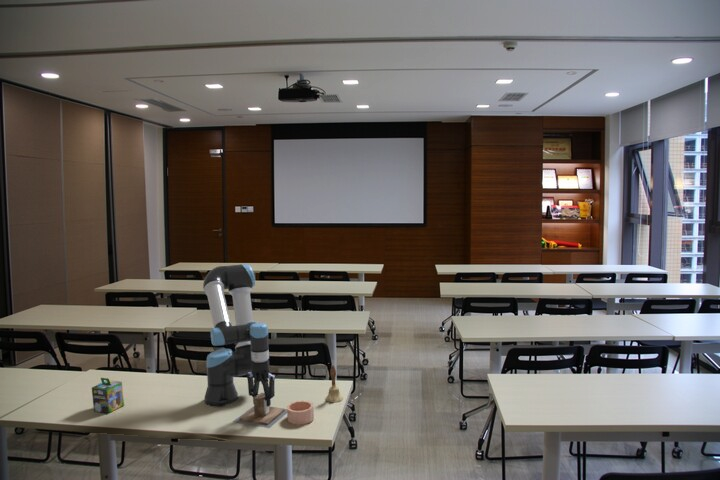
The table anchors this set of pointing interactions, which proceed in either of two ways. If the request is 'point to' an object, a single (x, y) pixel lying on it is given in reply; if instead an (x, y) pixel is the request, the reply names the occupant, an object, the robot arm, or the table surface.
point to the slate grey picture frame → (261, 424)
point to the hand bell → (333, 389)
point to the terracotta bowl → (300, 412)
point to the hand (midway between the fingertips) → (262, 412)
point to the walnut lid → (261, 412)
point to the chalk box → (107, 396)
